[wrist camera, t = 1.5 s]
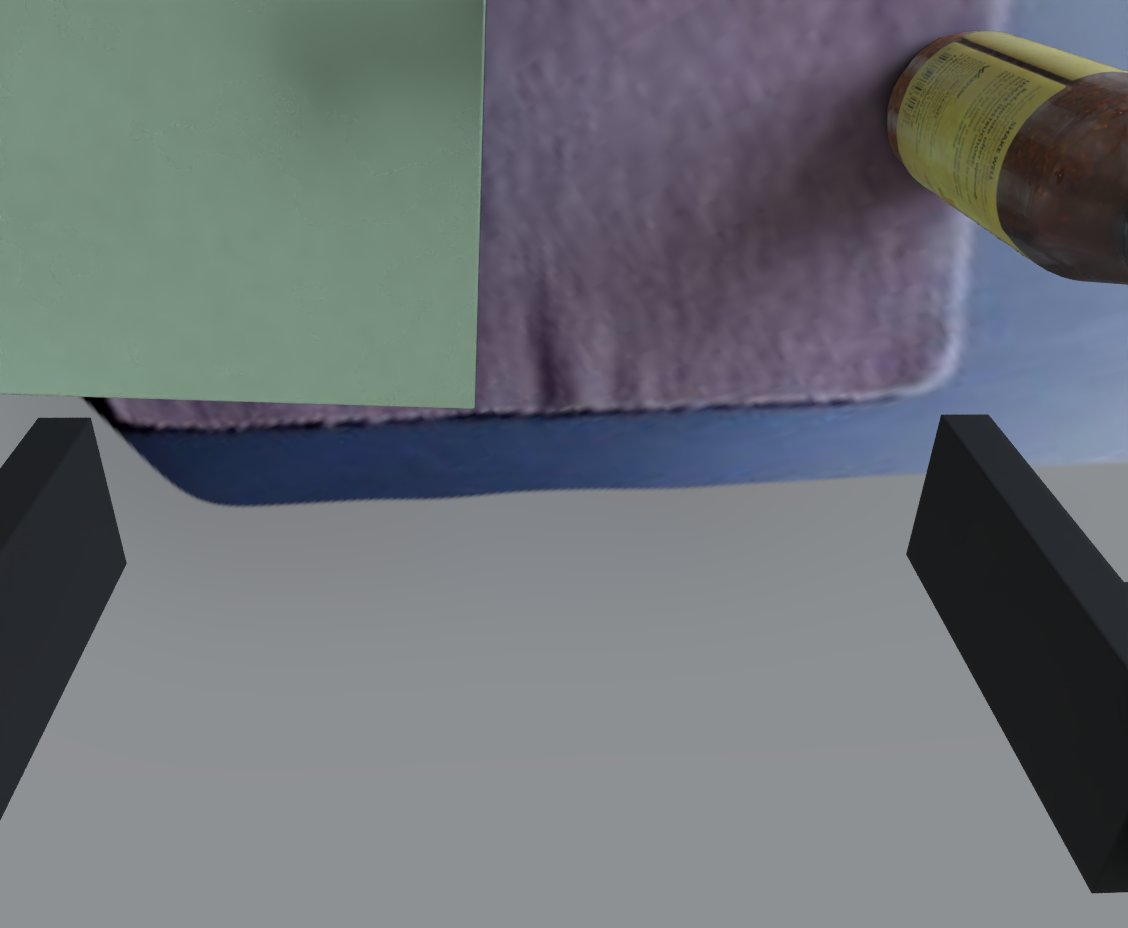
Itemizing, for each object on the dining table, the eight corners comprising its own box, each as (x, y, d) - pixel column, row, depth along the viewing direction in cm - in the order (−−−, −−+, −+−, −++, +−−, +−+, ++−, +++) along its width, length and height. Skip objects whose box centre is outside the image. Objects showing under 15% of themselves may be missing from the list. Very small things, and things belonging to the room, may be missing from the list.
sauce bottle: (897, 203, 44) (1150, 435, 28) (864, 60, 41) (1126, 223, 24) (1050, 143, 43) (1409, 345, 27) (1028, -8, 40) (1419, 111, 23)
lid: (-331, -307, 22) (-749, -375, 15) (493, -236, 24) (496, -264, 16) (-123, 378, 30) (-322, 558, 23) (475, 397, 32) (471, 572, 25)
